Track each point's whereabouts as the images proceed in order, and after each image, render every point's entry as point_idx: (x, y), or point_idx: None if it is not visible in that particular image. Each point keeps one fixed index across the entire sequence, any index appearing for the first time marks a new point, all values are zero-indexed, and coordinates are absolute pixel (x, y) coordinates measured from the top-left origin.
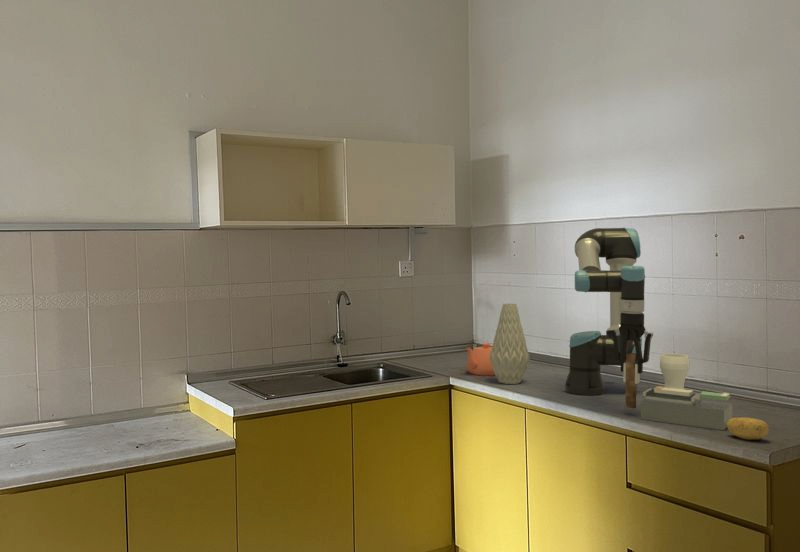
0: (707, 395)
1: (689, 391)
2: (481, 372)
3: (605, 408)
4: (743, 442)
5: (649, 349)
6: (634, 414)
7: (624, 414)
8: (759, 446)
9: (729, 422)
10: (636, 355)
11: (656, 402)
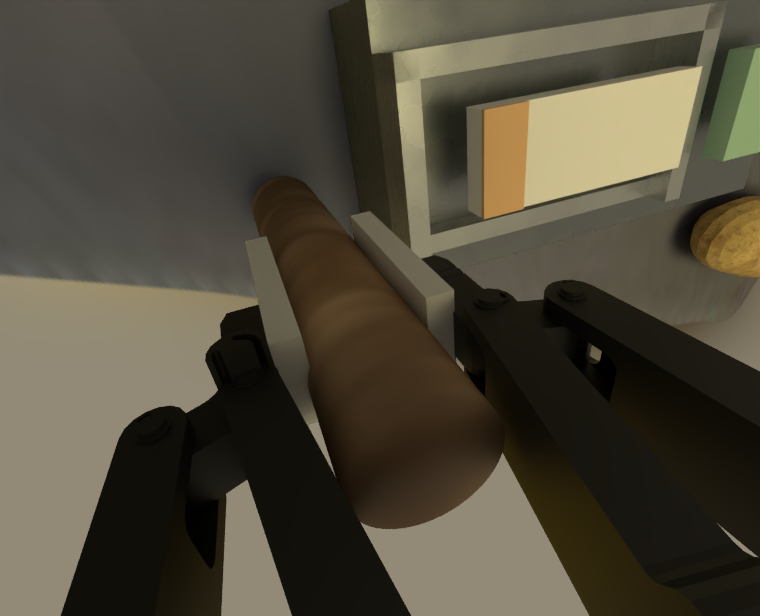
0: (753, 151)
1: (680, 128)
2: None
3: (42, 145)
4: (699, 273)
5: (756, 392)
6: (288, 169)
7: (249, 212)
8: (728, 279)
9: (720, 265)
10: (504, 451)
11: (477, 257)
